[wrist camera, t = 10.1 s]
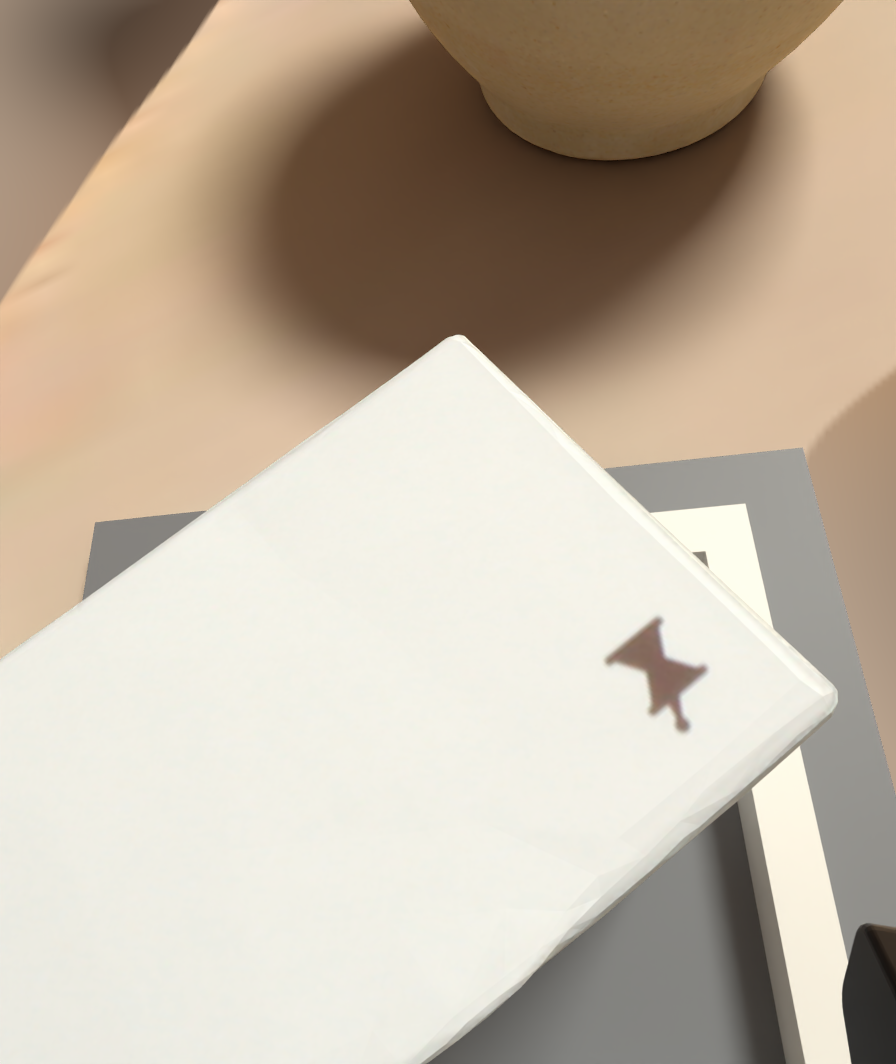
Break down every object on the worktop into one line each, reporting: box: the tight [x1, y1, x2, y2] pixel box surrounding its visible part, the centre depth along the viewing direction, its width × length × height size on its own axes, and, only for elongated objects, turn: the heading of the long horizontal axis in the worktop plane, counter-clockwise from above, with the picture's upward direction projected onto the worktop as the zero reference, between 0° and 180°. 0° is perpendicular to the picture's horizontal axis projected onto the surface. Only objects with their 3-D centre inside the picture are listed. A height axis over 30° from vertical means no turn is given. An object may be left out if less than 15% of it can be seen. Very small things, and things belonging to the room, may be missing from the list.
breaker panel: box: [82, 448, 896, 1064], centre depth 14 cm, size 24×18×3 cm
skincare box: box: [0, 335, 838, 1064], centre depth 11 cm, size 6×4×12 cm
